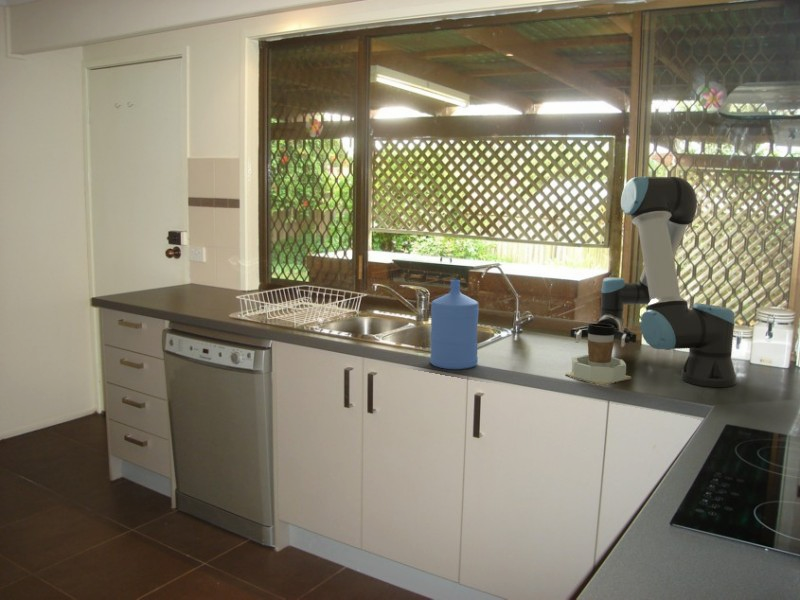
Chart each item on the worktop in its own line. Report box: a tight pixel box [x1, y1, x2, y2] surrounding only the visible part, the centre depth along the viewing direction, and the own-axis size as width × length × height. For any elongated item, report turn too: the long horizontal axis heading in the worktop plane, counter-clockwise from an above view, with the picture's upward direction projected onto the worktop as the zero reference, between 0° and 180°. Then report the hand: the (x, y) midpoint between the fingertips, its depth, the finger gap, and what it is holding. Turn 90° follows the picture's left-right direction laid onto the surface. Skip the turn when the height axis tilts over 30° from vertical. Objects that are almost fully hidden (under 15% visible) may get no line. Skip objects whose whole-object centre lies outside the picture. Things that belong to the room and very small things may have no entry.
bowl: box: [565, 354, 632, 387], centre depth 210 cm, size 15×15×5 cm
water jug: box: [429, 279, 480, 370], centre depth 223 cm, size 16×16×28 cm
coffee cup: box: [587, 322, 615, 367], centre depth 209 cm, size 8×8×15 cm
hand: (599, 340), depth 210 cm, fingers open, 13 cm apart
